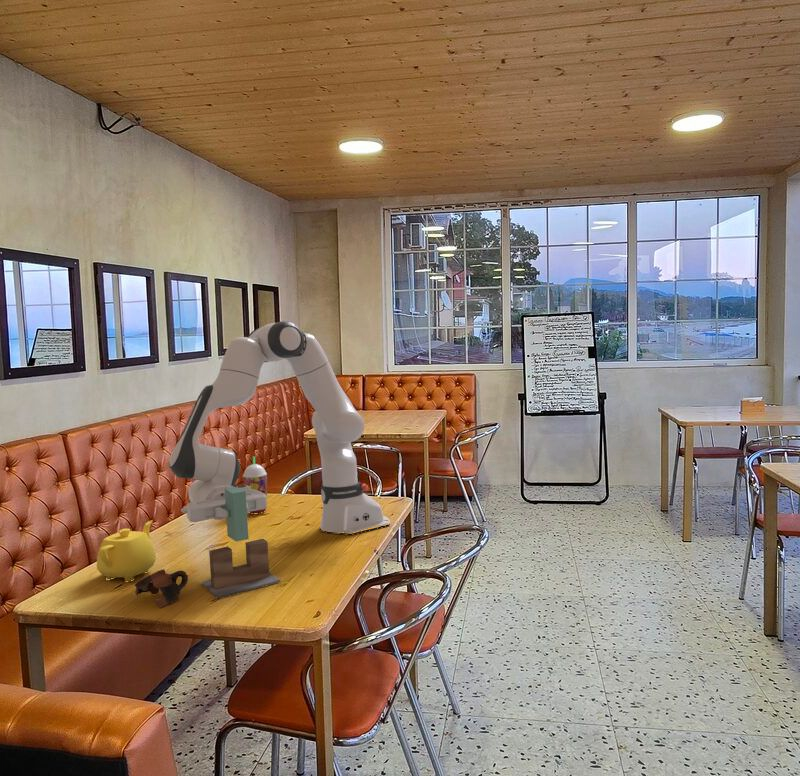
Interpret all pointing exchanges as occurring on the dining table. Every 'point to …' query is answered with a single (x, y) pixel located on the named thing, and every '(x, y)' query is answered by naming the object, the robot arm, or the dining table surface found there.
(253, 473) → the smoothie
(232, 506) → the teal green rectangular block
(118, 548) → the teapot
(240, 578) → the walnut slotted plate
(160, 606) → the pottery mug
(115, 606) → the dining table surface
